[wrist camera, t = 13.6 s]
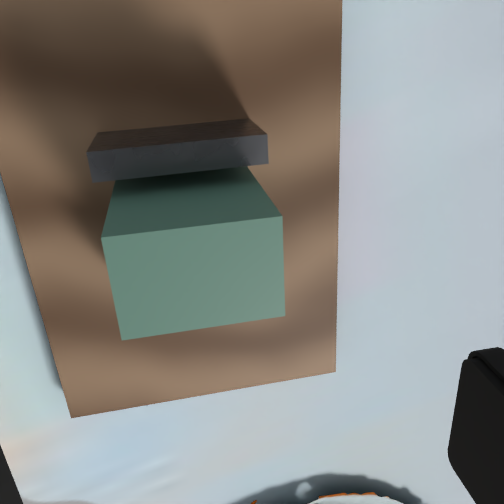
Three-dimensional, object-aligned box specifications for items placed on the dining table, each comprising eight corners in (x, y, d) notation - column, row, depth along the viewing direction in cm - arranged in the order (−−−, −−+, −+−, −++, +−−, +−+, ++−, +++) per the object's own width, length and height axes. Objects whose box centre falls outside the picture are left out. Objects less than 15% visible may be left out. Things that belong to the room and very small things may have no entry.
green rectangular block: (117, 172, 23) (100, 237, 15) (242, 160, 23) (282, 216, 16) (130, 250, 24) (121, 340, 17) (247, 235, 25) (285, 316, 18)
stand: (-57, -70, 19) (-129, -106, 14) (331, -83, 21) (385, -117, 16) (75, 400, 29) (59, 474, 24) (327, 357, 31) (360, 417, 27)
